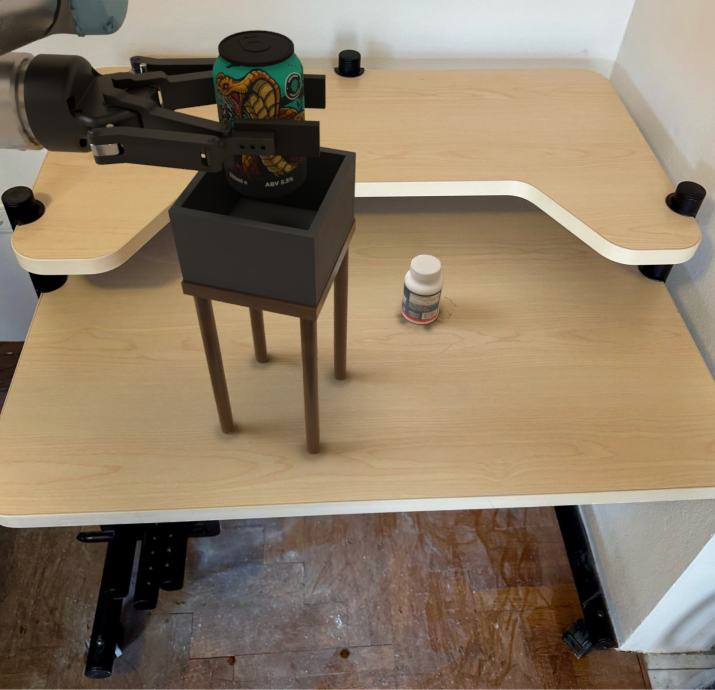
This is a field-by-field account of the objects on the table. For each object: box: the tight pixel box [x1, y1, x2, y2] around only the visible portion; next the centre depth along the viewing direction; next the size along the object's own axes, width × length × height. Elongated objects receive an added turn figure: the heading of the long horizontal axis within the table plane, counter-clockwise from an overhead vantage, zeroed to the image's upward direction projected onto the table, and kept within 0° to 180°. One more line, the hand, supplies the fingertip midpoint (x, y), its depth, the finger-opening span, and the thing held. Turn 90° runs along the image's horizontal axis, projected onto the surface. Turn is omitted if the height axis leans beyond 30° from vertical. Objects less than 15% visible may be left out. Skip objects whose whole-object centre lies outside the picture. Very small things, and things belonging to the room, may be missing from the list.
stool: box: [180, 217, 357, 455], centre depth 74 cm, size 14×13×24 cm
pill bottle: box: [401, 254, 444, 325], centre depth 91 cm, size 5×5×9 cm
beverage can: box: [212, 29, 307, 200], centre depth 55 cm, size 7×7×12 cm
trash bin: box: [167, 146, 357, 307], centre depth 62 cm, size 13×13×8 cm
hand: (322, 114), depth 55 cm, fingers closed on beverage can, 7 cm apart
